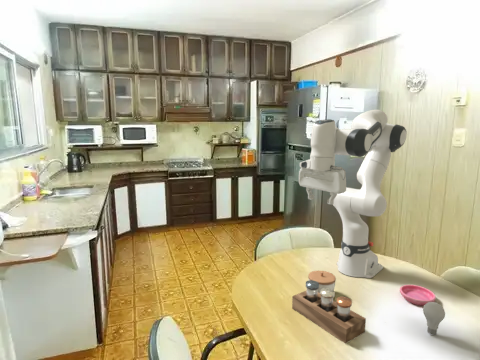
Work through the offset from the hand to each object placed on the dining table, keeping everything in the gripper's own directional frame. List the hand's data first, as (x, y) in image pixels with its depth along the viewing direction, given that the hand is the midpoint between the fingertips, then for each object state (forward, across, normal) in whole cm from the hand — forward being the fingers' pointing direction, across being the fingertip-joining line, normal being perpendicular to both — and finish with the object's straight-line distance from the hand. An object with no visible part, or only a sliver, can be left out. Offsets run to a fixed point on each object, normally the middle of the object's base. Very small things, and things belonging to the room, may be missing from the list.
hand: (320, 201), depth 119 cm
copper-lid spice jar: (+35, -18, +6) cm, 40 cm away
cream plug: (+35, -11, +6) cm, 37 cm away
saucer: (+40, -21, -34) cm, 56 cm away
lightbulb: (+40, -36, -16) cm, 56 cm away
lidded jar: (+40, +2, -6) cm, 40 cm away
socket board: (+40, -11, +6) cm, 42 cm away
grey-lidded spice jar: (+35, -4, +6) cm, 36 cm away
